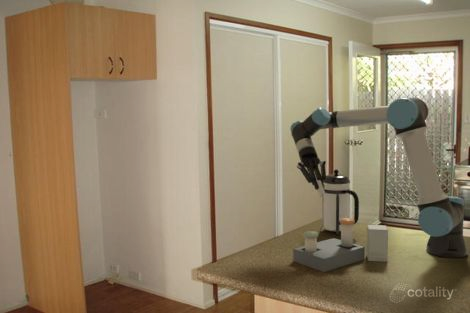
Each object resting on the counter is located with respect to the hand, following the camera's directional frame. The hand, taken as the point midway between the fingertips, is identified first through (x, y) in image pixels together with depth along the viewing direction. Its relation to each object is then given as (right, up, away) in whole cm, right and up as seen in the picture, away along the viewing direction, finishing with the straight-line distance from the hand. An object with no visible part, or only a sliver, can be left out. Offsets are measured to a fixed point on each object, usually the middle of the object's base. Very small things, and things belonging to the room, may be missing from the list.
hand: (322, 195), depth 194 cm
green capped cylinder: (-6, -24, -10) cm, 27 cm away
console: (+1, -25, -8) cm, 26 cm away
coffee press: (+14, -21, +33) cm, 41 cm away
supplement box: (+20, -25, -7) cm, 33 cm away
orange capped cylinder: (+8, -19, -7) cm, 22 cm away
